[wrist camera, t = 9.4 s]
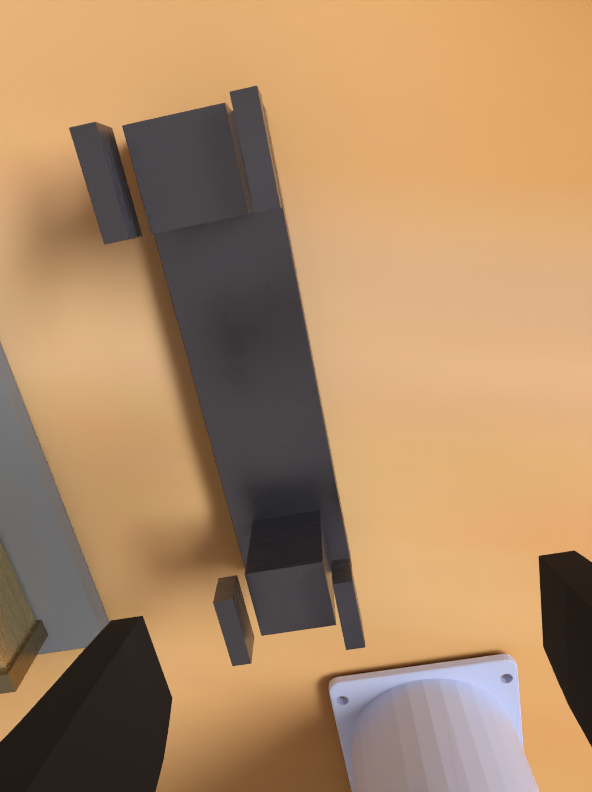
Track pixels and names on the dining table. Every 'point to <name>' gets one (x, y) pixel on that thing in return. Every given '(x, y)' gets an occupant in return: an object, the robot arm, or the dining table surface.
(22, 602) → the rail
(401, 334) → the dining table surface
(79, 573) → the mat
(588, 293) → the dining table surface
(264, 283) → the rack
